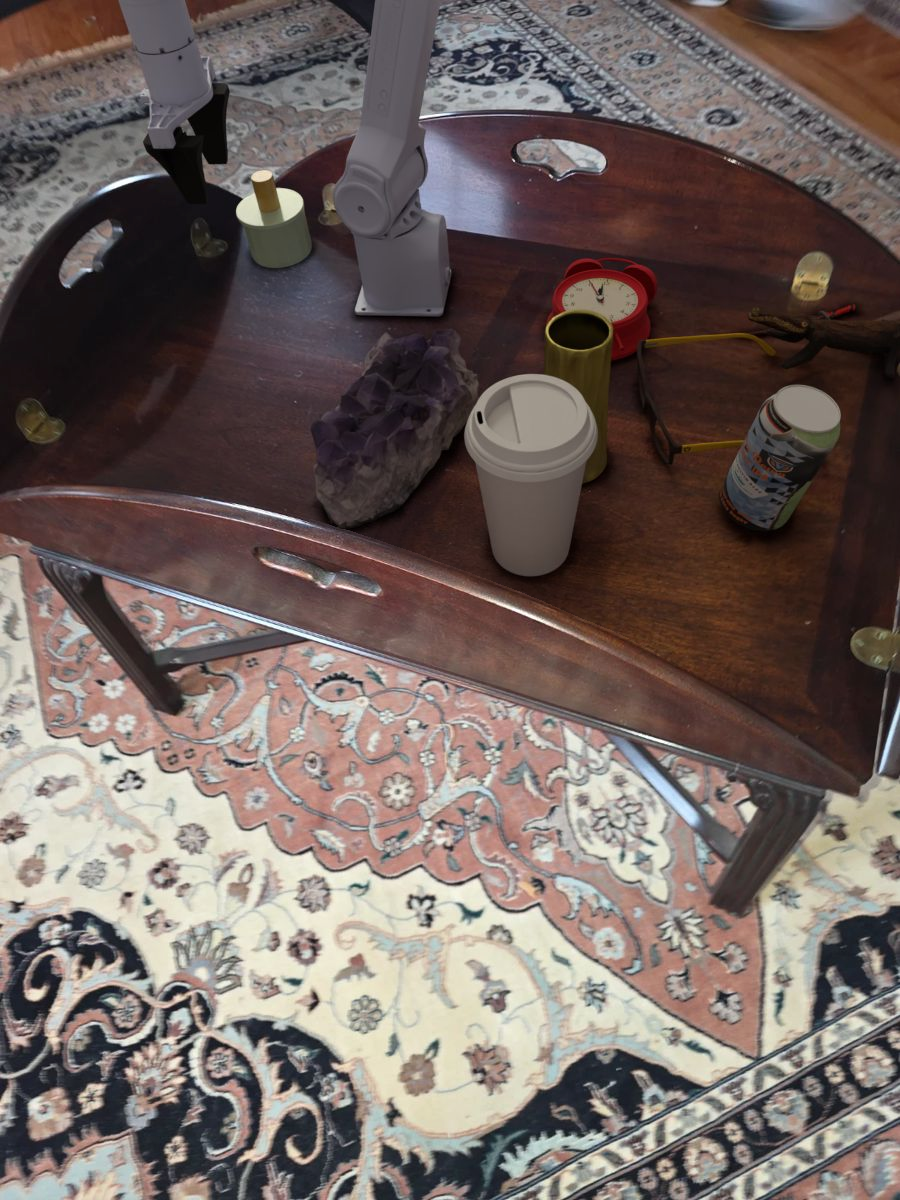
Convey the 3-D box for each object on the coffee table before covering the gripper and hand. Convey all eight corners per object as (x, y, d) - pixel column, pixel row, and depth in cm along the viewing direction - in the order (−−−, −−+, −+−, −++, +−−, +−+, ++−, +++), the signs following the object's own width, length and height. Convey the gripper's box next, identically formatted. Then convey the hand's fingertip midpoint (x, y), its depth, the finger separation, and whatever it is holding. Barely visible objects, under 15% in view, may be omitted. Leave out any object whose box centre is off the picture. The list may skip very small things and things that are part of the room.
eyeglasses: (625, 372, 85) (629, 338, 82) (774, 355, 85) (783, 320, 81) (658, 479, 76) (664, 447, 73) (823, 460, 76) (837, 426, 73)
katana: (864, 310, 87) (862, 316, 87) (856, 300, 88) (854, 306, 88) (741, 339, 86) (740, 344, 87) (734, 328, 87) (733, 334, 88)
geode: (409, 553, 74) (376, 470, 66) (299, 526, 79) (256, 446, 71) (504, 393, 84) (485, 304, 76) (400, 378, 88) (372, 292, 80)
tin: (317, 233, 103) (309, 193, 99) (304, 268, 99) (294, 228, 95) (260, 232, 104) (249, 193, 100) (245, 268, 100) (233, 228, 96)
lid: (312, 196, 100) (303, 157, 96) (297, 235, 96) (287, 195, 92) (248, 197, 101) (237, 157, 97) (230, 235, 97) (218, 195, 93)
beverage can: (707, 489, 76) (734, 380, 66) (792, 479, 76) (831, 369, 66) (727, 545, 72) (757, 438, 62) (816, 535, 72) (861, 427, 62)
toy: (741, 370, 80) (768, 327, 76) (731, 318, 84) (756, 274, 80) (965, 414, 83) (1002, 375, 79) (945, 361, 87) (979, 321, 83)
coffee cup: (490, 494, 77) (483, 358, 65) (598, 513, 75) (611, 375, 63) (459, 579, 72) (445, 448, 60) (574, 602, 70) (583, 470, 58)
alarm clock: (531, 333, 84) (569, 216, 89) (534, 373, 90) (570, 261, 95) (639, 348, 81) (672, 227, 86) (636, 389, 87) (667, 273, 92)
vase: (602, 489, 77) (615, 358, 65) (533, 482, 78) (533, 352, 66) (609, 440, 80) (623, 307, 68) (543, 434, 81) (544, 302, 69)
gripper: (149, 8, 86) (192, 146, 97) (96, 78, 78) (150, 220, 89) (217, 6, 85) (253, 146, 96) (171, 77, 77) (216, 220, 88)
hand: (208, 182), depth 93 cm, fingers open, 7 cm apart
